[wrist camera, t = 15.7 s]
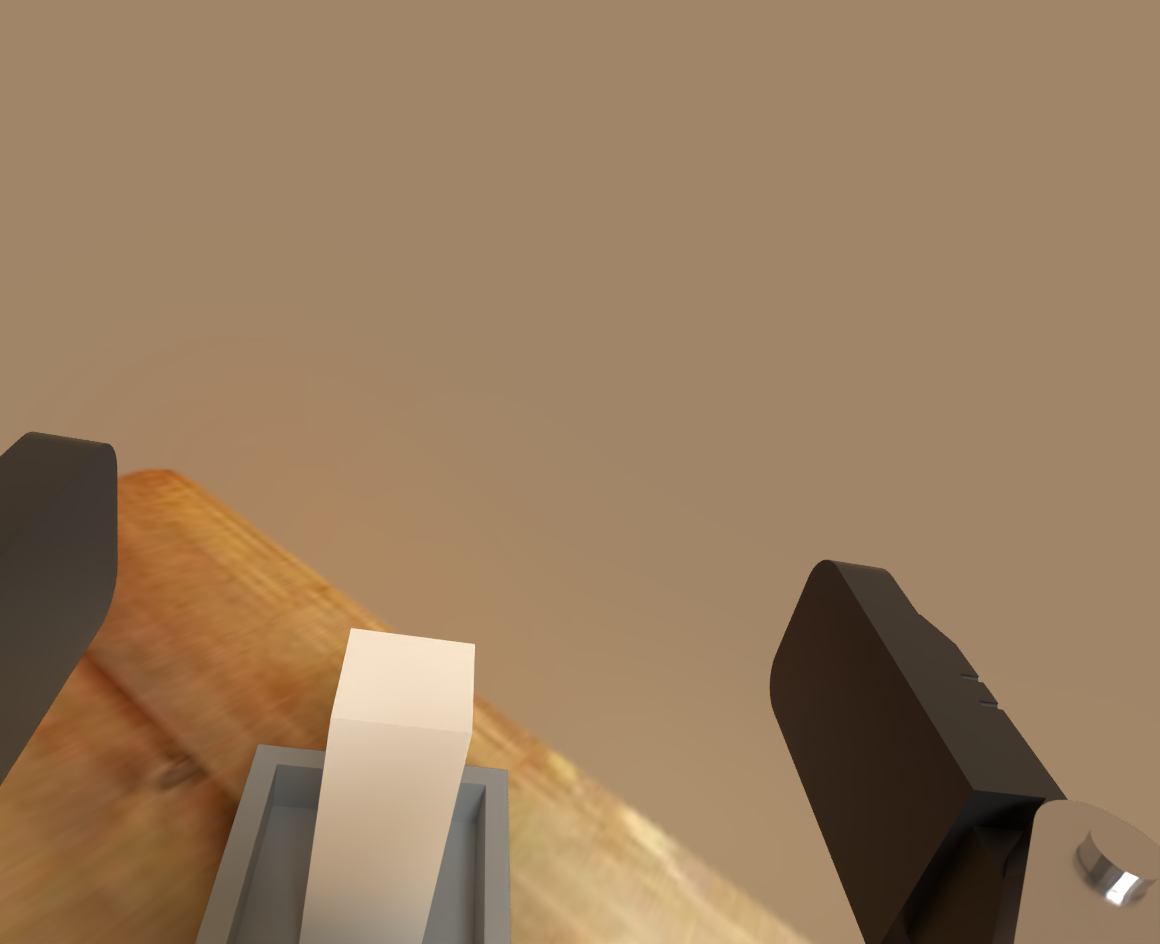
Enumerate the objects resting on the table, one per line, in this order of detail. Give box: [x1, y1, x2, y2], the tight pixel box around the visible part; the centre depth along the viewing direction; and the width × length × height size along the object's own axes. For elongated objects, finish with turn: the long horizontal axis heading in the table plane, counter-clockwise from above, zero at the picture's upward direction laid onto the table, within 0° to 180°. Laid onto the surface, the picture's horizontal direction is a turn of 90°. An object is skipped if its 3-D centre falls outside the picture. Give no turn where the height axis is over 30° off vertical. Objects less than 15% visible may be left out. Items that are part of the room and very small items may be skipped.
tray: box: [195, 744, 511, 944], centre depth 35 cm, size 11×11×4 cm
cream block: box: [299, 628, 475, 944], centre depth 33 cm, size 4×4×12 cm
